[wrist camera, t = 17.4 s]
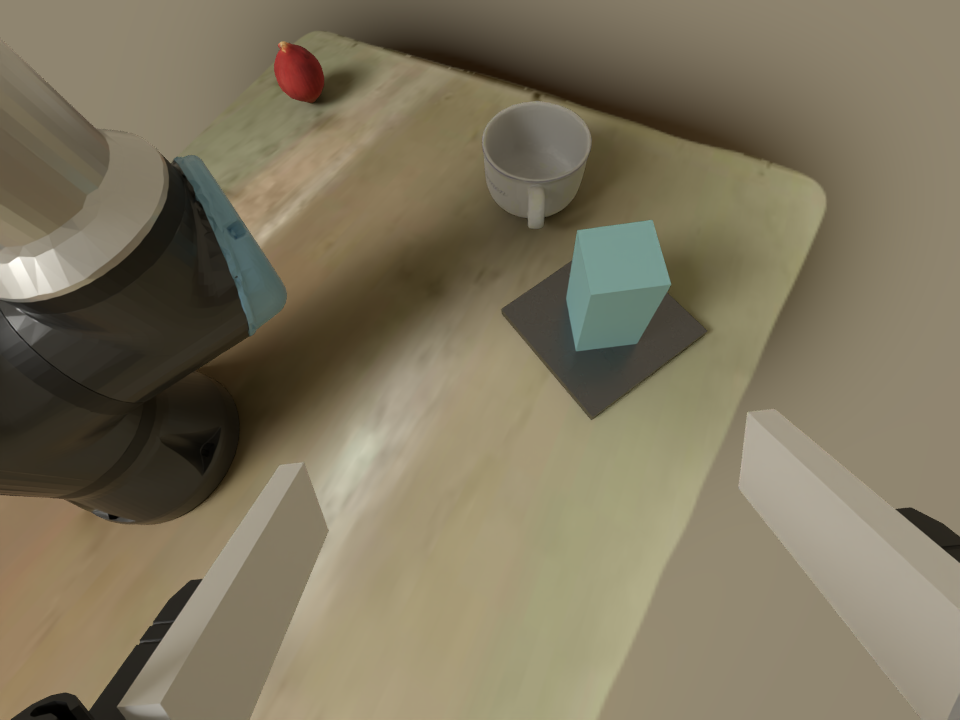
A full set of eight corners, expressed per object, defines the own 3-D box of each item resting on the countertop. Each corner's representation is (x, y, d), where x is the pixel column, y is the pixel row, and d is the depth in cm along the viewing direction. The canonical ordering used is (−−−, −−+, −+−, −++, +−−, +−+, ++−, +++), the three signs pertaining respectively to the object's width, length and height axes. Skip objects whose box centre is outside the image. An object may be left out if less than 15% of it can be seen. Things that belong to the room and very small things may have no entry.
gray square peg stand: (501, 313, 46) (496, 265, 38) (606, 241, 48) (622, 180, 40) (591, 419, 42) (607, 391, 33) (703, 335, 43) (745, 288, 35)
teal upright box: (576, 351, 43) (590, 295, 33) (566, 298, 45) (577, 230, 35) (636, 343, 43) (671, 284, 32) (624, 291, 45) (652, 219, 35)
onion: (306, 81, 62) (277, 20, 55) (341, 90, 61) (315, 29, 54) (284, 111, 61) (250, 52, 53) (319, 120, 59) (289, 61, 52)
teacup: (498, 153, 54) (494, 93, 47) (589, 162, 52) (599, 101, 45) (472, 249, 50) (463, 200, 42) (570, 263, 48) (578, 213, 40)
